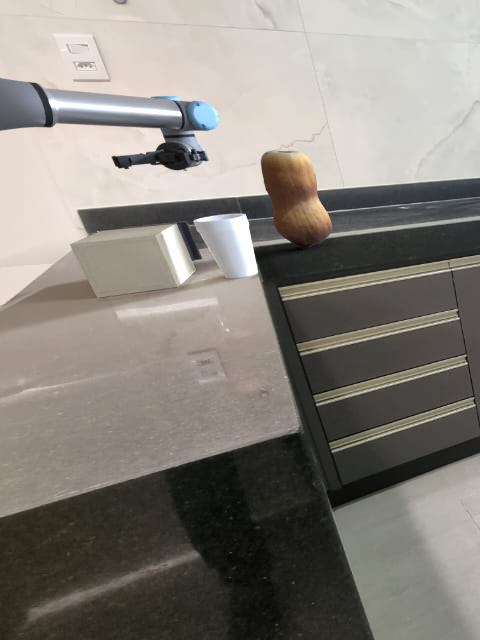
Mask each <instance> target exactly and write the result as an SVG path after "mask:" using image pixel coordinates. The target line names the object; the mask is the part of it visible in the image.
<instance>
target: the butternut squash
mask: <svg viewBox="0 0 480 640" xmlns="http://www.w3.org/2000/svg"><path fill="white" fill-rule="evenodd" d="M260 168H261V174H262V179H263V185H264V189H265V191H266V193H267V194H268V196H269V199H270V201H271V205H272V222H273V225H274V228H275V229H276V231H277V233H278V234H279V235H280V236H281V237H282V238H284V239H285V240H287V241H288V242H290V243H291V244H293V245H295V246H296V247H297V248H299V249H301V250H307V249H310V248H312V247H315V246H319V245H321V244H322V243H323V242H324V241H325V240H327V238H328V237H329V236H330V235H331V233H332V231H333V223H332V221H331V217H330V216H329V215H330V214H329V213H328V211H327V210H326V209H325V206H324V205H323V204H322V202H321V200H320V199H319V195H318V183H317V176H316V172H315V168H314V166H313V164H312V161H311V159H310V157H308V155H306V154H305V153H303V152H301V151H298V150H278V149H277V150H276V149H273V150H268V151H265V152H264V153H263V154H262V156H261V158H260Z"/></svg>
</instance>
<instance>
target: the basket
mask: <svg viewBox="0 0 480 640" xmlns="http://www.w3.org/2000/svg"><path fill="white" fill-rule="evenodd" d="M167 224H177V226H178V228H179V231H180V233H181V236H182V238H183V240H184V243H185V245H186V248H187V250H188V252H189V255H190V257H191V259H192V262H193V263H194V261H199V260H202V259H203V257H202V253H201V252H200V249H199V247H198V244H197V242H196V240H195V237H194V234H193V231H192V230H191V226H190V224H189V222H188V221H187V220H185V221H175V222H168V223H167V222H164V223H155V224H154V223H153V224H144V225H135V226H125V227H121V228H120V229H127V228H137V227H147V226H157V225H167Z"/></svg>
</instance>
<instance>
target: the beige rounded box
mask: <svg viewBox="0 0 480 640" xmlns="http://www.w3.org/2000/svg"><path fill="white" fill-rule="evenodd" d="M69 246H70V249H71V250H72V253H73V254H74V256H75V258H76V261H77V262H78V264H79V265H80V267H81V268H80V269H82V272H83V274H84V276H85V277H86V280H87V281H88V283H89V285H90V287H91V289H92V291H93V293H94V295H95V297H96V298H97V299H100V298H107V297H114V296H122V295H130V294H137V293H145V292H152V291H160V290H166V289H173V288H174V289H175V288H179V287H180V286H182V284H183V283H184V282H185V281H186V280H187V279H189V278H190V277H191V276H192V275H193V274H194V273H196V272H197V270H196V267H195V265H194V261H193V262H192V259H191V257H190V255H189V252H188V250H187V248H186V245H185V243H184V240H183V238H182V236H181V233H180V231H179V228H178V226H177V224H167V225H157V226H147V227H137V228H127V229H121V228H118V229H108V230H100V231H97V232H95V233H93V234H89V235H88V236H86V237H83V238H81V239H78V240H76V241H73V242H71V243H69Z"/></svg>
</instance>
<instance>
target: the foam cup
mask: <svg viewBox="0 0 480 640" xmlns="http://www.w3.org/2000/svg"><path fill="white" fill-rule="evenodd" d="M193 224H194V227H195V229H196V232H197V233H198V234H199V235H200V237H201V239H202V240H203V242H204V243H205V246H206V248H207V249H208V250H209V252H210V254H211V256H212V258H213V259H214V261H215V263H216V264H217V266H218V268H219V270H220V271H221V273H222V275H223V276H224V278H225V279H231V280H232V279H242V278H246V277H252V276H255V275H256V274H258V266H257V261H256V256H255V252H254V246H253V242H252V237H251V232H250V223H249V220H248V218H247V215H246V213H226V214H216V215H210V216H204V217H200V218H196V219H194V220H193Z"/></svg>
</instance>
